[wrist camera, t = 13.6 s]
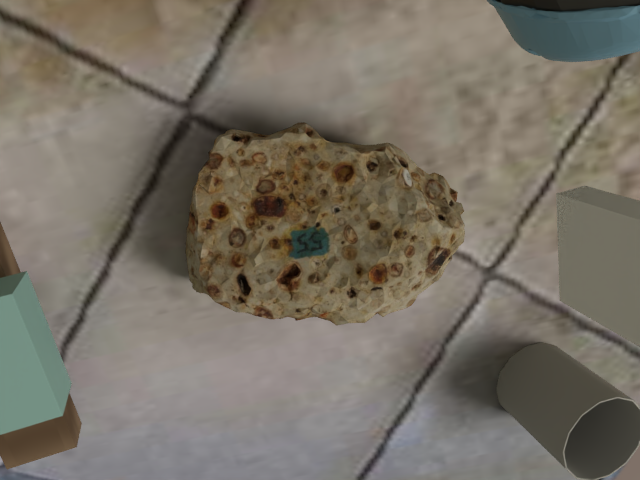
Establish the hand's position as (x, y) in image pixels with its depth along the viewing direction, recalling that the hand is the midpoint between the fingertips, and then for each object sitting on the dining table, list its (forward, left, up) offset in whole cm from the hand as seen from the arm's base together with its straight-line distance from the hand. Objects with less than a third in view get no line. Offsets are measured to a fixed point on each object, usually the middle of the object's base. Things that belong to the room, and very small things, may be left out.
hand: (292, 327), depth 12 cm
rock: (+8, +8, -32) cm, 34 cm away
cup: (+31, +27, -32) cm, 52 cm away
